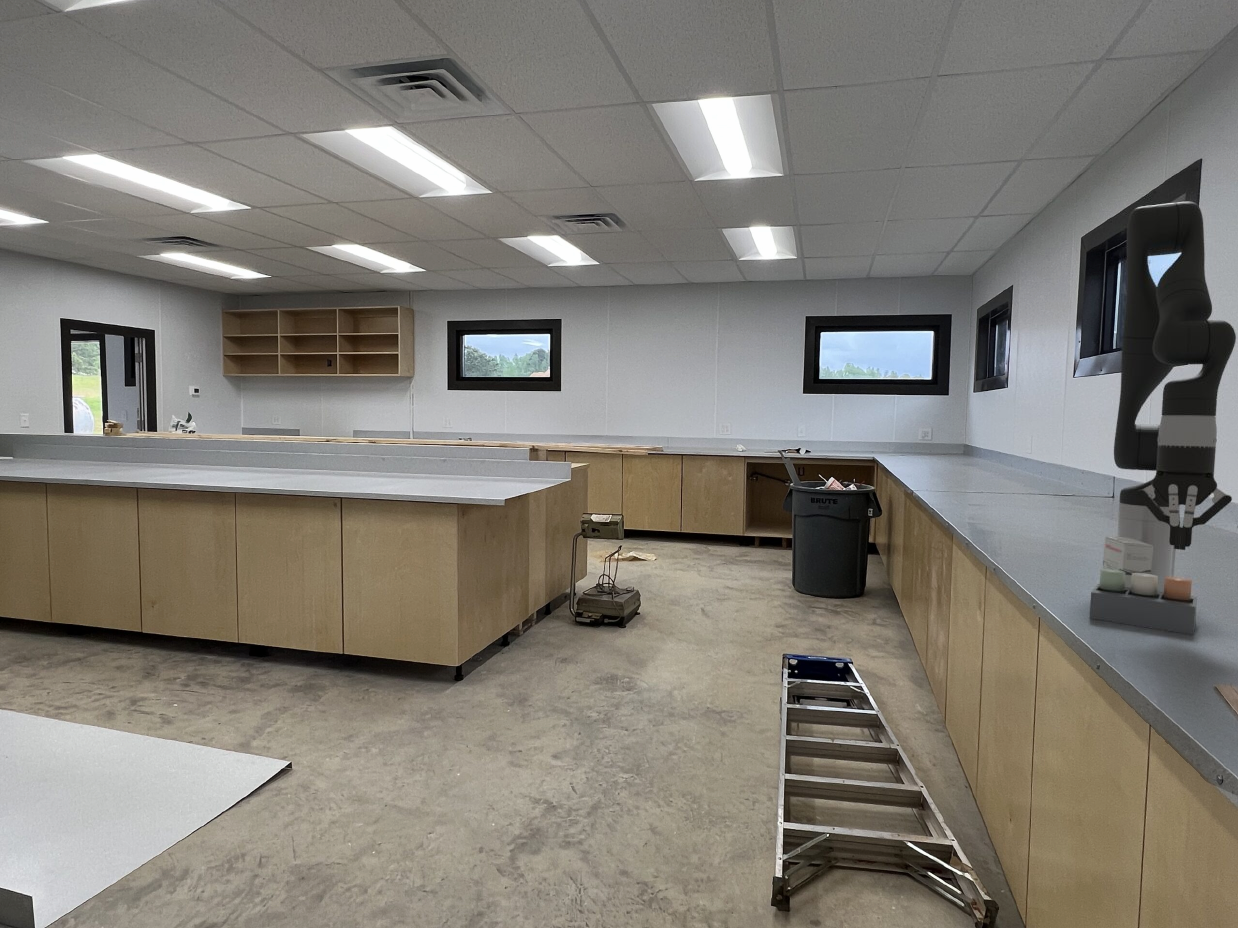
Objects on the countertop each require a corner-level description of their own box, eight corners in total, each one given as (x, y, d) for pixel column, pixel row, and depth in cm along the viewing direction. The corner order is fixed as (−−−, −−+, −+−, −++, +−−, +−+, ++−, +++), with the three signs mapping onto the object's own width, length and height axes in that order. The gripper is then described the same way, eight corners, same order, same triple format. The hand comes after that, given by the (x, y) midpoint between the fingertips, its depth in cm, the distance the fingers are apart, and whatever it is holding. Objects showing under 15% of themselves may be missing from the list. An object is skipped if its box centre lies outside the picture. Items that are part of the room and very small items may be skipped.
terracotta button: (1164, 593, 124) (1165, 575, 124) (1191, 597, 122) (1192, 579, 122) (1162, 597, 121) (1163, 579, 121) (1190, 600, 119) (1191, 582, 119)
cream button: (1131, 589, 127) (1132, 571, 127) (1157, 592, 125) (1158, 575, 124) (1129, 592, 124) (1130, 575, 124) (1155, 596, 122) (1157, 578, 122)
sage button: (1100, 584, 130) (1101, 568, 130) (1125, 588, 127) (1126, 571, 127) (1098, 588, 127) (1099, 571, 127) (1123, 591, 125) (1124, 574, 125)
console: (1096, 608, 133) (1098, 583, 132) (1195, 622, 124) (1197, 596, 123) (1089, 618, 126) (1091, 592, 125) (1193, 634, 117) (1195, 606, 116)
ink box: (1150, 609, 132) (1154, 544, 132) (1119, 607, 133) (1123, 542, 133) (1127, 598, 141) (1131, 536, 140) (1098, 596, 142) (1102, 535, 141)
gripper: (1239, 445, 119) (1231, 551, 120) (1139, 442, 127) (1133, 541, 128) (1239, 445, 113) (1231, 557, 114) (1134, 442, 121) (1128, 546, 122)
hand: (1179, 548), depth 121 cm, fingers closed
